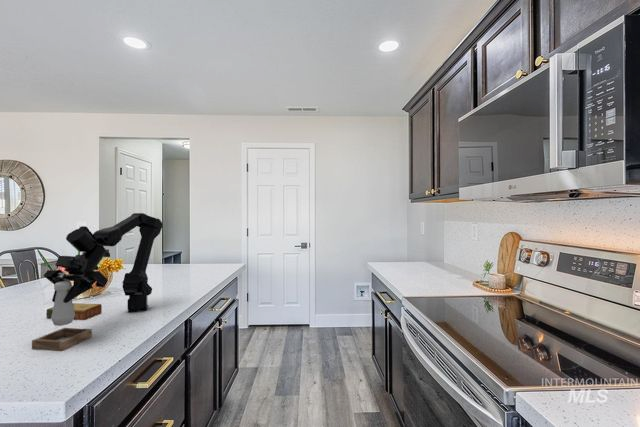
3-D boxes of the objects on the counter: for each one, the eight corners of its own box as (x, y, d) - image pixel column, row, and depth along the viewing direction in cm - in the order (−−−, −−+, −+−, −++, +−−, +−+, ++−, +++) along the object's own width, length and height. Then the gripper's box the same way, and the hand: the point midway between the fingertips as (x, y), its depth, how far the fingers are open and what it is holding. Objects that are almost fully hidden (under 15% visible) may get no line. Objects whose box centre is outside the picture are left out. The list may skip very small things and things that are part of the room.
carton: (84, 321, 118) (84, 309, 117) (45, 319, 119) (45, 308, 119) (102, 313, 126) (101, 303, 126) (65, 312, 127) (65, 302, 127)
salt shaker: (48, 328, 94) (47, 284, 93) (54, 322, 99) (53, 280, 99) (72, 324, 96) (72, 282, 96) (77, 319, 101) (76, 279, 101)
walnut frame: (64, 335, 103) (64, 327, 103) (91, 337, 102) (91, 329, 102) (31, 348, 93) (31, 340, 93) (62, 350, 92) (62, 342, 92)
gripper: (48, 245, 102) (11, 287, 92) (100, 246, 100) (68, 289, 89) (71, 264, 110) (39, 305, 100) (119, 266, 108) (92, 308, 97)
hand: (59, 302), depth 96 cm, fingers closed on salt shaker, 3 cm apart
